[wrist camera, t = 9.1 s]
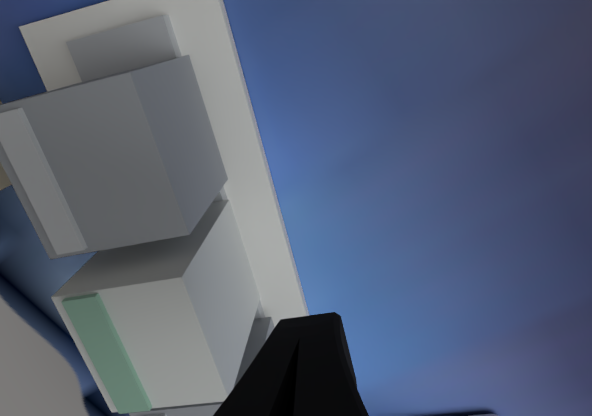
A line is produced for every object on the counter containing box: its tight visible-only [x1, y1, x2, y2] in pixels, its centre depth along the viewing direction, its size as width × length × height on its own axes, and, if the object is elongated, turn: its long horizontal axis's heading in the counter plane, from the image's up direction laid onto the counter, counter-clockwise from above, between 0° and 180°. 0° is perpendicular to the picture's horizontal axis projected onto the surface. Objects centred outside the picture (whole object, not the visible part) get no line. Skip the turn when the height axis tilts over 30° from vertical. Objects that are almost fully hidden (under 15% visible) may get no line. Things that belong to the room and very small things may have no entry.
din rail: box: [0, 0, 309, 416], centre depth 18 cm, size 22×8×6 cm, turn 14°
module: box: [51, 200, 260, 414], centre depth 17 cm, size 5×4×6 cm
